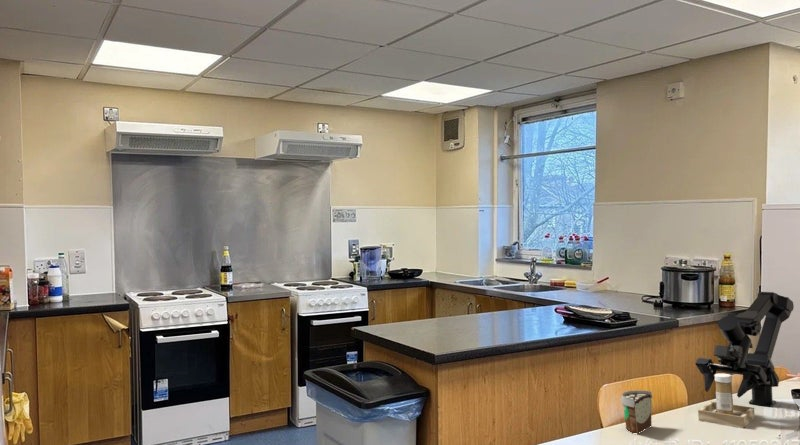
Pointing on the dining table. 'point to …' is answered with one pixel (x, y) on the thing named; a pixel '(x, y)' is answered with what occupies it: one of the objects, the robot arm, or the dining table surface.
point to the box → (727, 415)
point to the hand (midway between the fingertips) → (721, 393)
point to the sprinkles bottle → (724, 393)
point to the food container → (637, 410)
